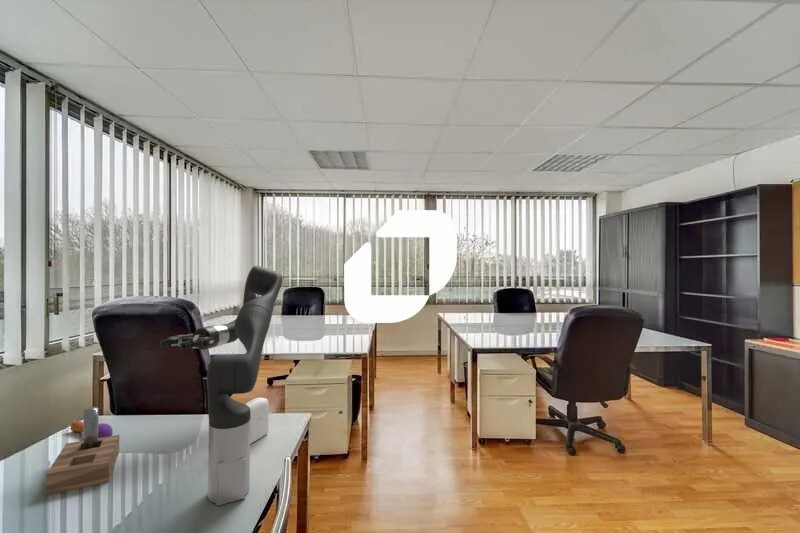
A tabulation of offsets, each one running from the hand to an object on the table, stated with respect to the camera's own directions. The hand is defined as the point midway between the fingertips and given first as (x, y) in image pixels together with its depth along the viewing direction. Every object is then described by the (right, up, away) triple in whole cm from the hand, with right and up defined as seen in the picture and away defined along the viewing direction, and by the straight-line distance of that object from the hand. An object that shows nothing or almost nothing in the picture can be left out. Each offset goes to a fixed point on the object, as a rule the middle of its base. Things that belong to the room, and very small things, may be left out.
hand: (170, 345), depth 119 cm
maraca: (-27, -30, +3) cm, 41 cm away
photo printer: (+24, -31, +4) cm, 39 cm away
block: (-12, -30, -17) cm, 36 cm away
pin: (-14, -29, -13) cm, 35 cm away
